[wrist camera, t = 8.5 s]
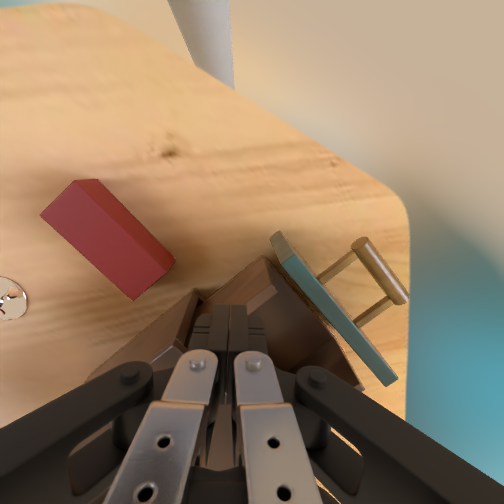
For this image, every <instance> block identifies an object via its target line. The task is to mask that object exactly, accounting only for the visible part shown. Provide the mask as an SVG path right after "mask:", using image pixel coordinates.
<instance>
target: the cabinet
mask: <svg viewBox="0 0 504 504" xmlns="http://www.w3.org/2000/svg"><path fill="white" fill-rule="evenodd" d="M205 300H206V299H205V298H204V297H203V296H202V295H201V294H200V293H199V292H198V291H197V290H196V289H193V290H192V291H191V292H189V293H188V294H187V295H186V296H184V297H183V298H182V299H181V300H180V301H178V302H177V303H176V304H175V305H173V306H172V307H171V308H170V309H169V310H167V311H166V312H165V313H164V314H163V315H161V316H160V317H159V318H158V319H156V320H155V321H154V322H153V323H152V324H150V325H149V326H148V327H147V328H146V329H144V330H143V331H142V332H141V333H139V334H138V335H137V336H136V337H135V338H133V339H132V340H131V341H130V342H129V343H127V344H126V345H125V346H124V347H122V348H121V349H120V350H119V351H118V352H116V353H115V354H114V355H113V356H111V357H110V358H109V359H108V360H107V361H105V362H104V363H103V364H102V365H101V366H99V367H98V368H97V369H96V370H94V371H93V372H92V373H91V374H90V376H89V377H88V378H87V380H86V381H85V383H87V382H88V381H90V380H92V379H94V378H96V377H98V376H100V375H101V374H103V373H105V372H107V371H109V370H111V369H113V368H114V367H116V366H118V365H120V364H123V363H126V362H130V361H143V362H146V363H148V364H149V365H151V367H152V369H153V372H155V371H160V370H165V369H169V368H171V367H174V366H176V364H177V361H178V359H179V358H180V357H181V356H182V355H183V354H184V353H186V352H187V349H186V348H185V347H184V346H183V345H184V342H185V339H186V336H187V333H188V330H189V326H190V323H191V320H192V317H193V314H194V311H195V309H196V308H197V307H198V306H199V305H200V304H202V303H203V302H204V301H205ZM85 383H84V384H85ZM226 399H227V385H226V388H225V403H224V405H219V408H218V415H217V418H216V427H215V432H214V438H213V443H212V449H211V454H210V460H209V466H208V469H210V470H214V471H223V470H227V469H231V468H233V462H232V442H231V406H232V405H226ZM109 428H111V422H110V423H108V424H107V425H105V426H104V427H102V428H101V429H100V430H98V431H97V432H95V433H94V434H92V435H91V436H89V437H88V438H87V439H85V440H84V441H82V442H81V443H79V444H78V445H77V446H76V447H75V448H74V449H73V450H72V452H71V453H70V455H69V457H70V456H71V455H72V454H74V453H75V452H77V451H78V450H80V449H81V448H82V447H84V446H85V445H87V444H88V443H89V442H91V441H92V440H94V439H95V438H97V437H98V436H99V435H101V434H102V433H104V432H105V431H106V430H108V429H109ZM110 487H111V486H109V487H108V488H110ZM108 488H107V489H108ZM107 489H106V490H107Z"/></svg>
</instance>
